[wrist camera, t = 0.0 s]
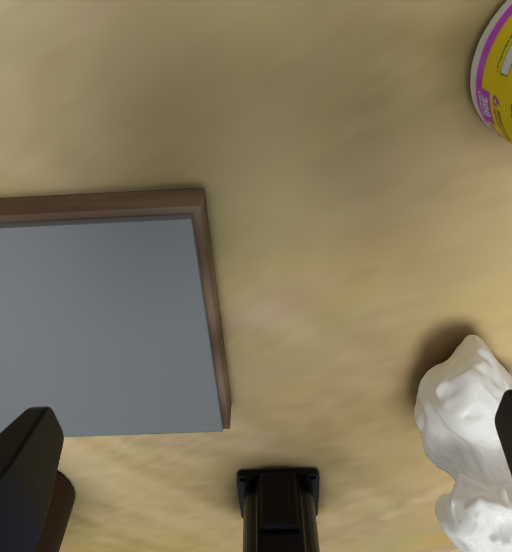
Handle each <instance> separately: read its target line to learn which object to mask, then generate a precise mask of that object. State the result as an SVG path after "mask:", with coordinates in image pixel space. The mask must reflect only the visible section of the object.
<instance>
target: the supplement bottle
mask: <svg viewBox="0 0 512 552" xmlns="http://www.w3.org/2000/svg"><path fill="white" fill-rule="evenodd" d="M470 87H471V96H472V100H473V103H474V106H475V108H476V110H477V113H478V114H479V116H480V117H481V119H482V120H483V122H484V123H485V124H486V125H487V126H488V127H489V128H490V129H491V130H493V131H494V132H495V133H497V134H498V135H499V136H501V137H502V138H504V139H505V140H507V141H508V142H510V143H511V144H512V0H507V1H506V2H505V3H504V4H503V5H502V7H501V8H500V9H499V10H498V12H497V13H496V14H495V15H494V17H493V18H492V20H491V21H490V23H489V24H488V26H487V28H486V29H485V31H484V33H483V35H482V37H481V39H480V41H479V44H478V46H477V49H476V51H475V55H474V58H473V62H472V67H471V75H470Z"/></svg>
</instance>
